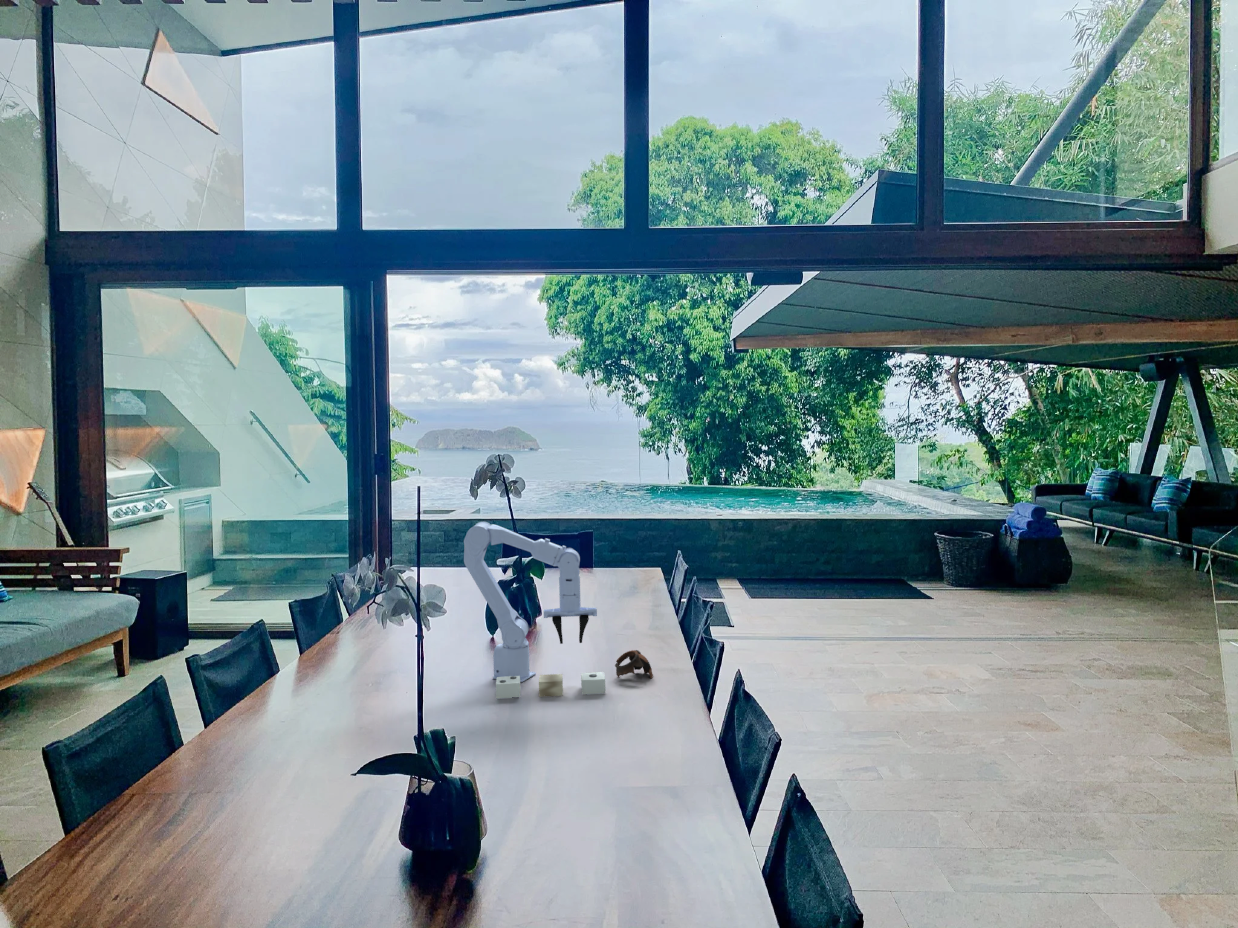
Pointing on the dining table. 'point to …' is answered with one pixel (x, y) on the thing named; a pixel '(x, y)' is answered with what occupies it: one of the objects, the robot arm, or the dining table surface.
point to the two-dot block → (507, 687)
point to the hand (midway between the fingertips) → (571, 642)
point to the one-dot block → (593, 683)
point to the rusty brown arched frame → (633, 663)
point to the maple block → (551, 685)
